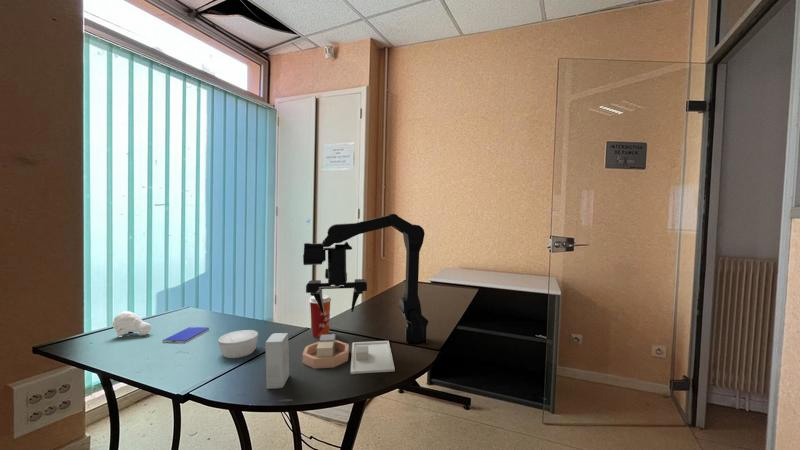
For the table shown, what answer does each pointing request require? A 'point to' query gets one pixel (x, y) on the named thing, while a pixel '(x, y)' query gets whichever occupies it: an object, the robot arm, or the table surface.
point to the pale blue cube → (328, 339)
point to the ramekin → (238, 343)
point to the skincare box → (277, 360)
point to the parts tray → (373, 358)
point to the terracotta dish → (326, 362)
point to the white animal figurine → (130, 324)
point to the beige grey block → (362, 353)
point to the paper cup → (320, 316)
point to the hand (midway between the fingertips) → (337, 312)
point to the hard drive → (186, 335)
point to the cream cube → (325, 349)
